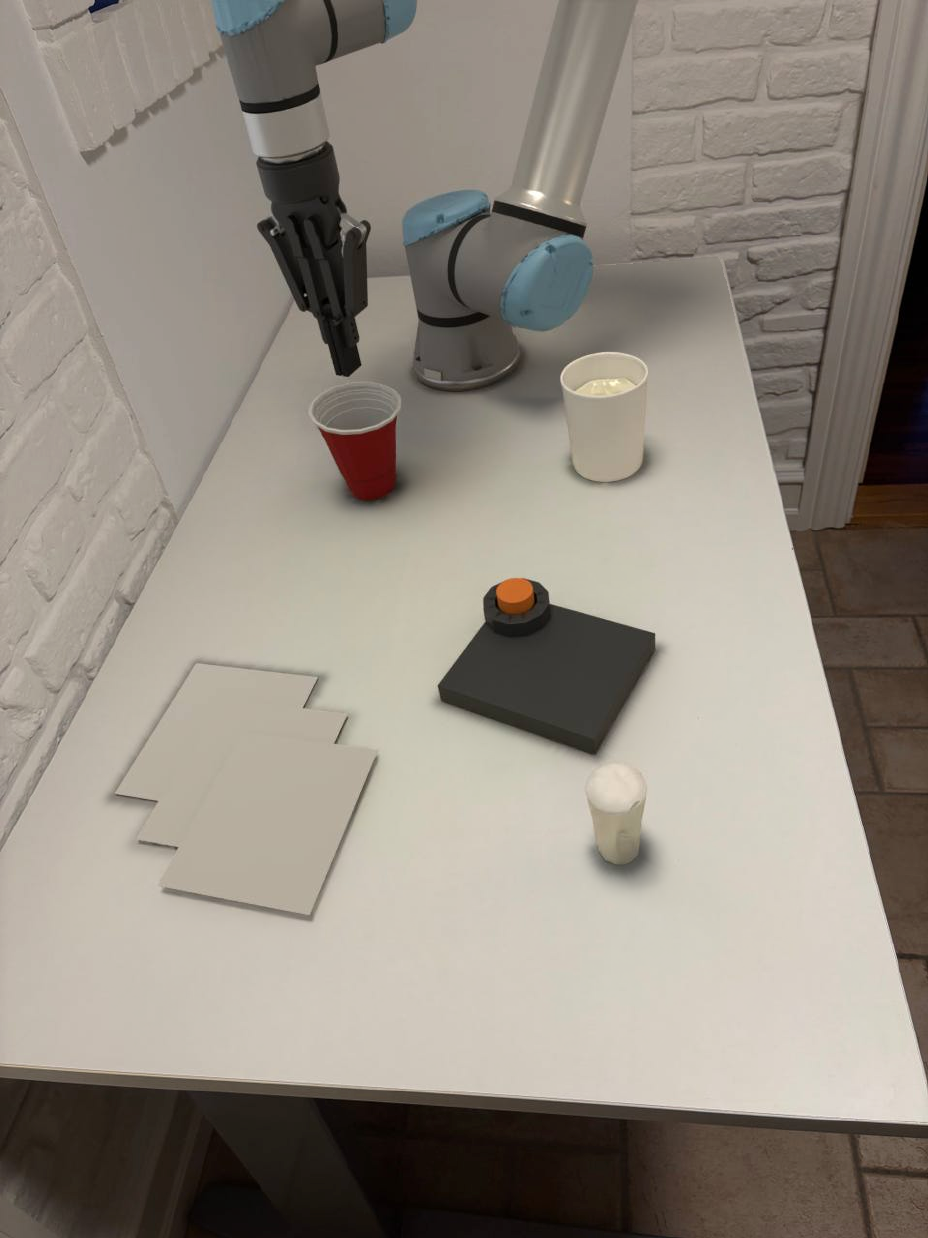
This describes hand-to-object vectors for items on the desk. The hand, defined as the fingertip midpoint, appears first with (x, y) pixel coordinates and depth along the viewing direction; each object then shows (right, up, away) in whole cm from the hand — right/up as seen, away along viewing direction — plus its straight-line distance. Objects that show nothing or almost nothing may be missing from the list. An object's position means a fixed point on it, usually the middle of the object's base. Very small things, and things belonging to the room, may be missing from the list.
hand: (348, 369), depth 107 cm
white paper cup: (+30, -9, +8) cm, 33 cm away
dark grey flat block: (+21, -33, -16) cm, 42 cm away
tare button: (+18, -26, -13) cm, 34 cm away
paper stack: (-7, -42, -19) cm, 47 cm away
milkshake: (+26, -47, -30) cm, 61 cm away
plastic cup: (+2, -12, +11) cm, 16 cm away
